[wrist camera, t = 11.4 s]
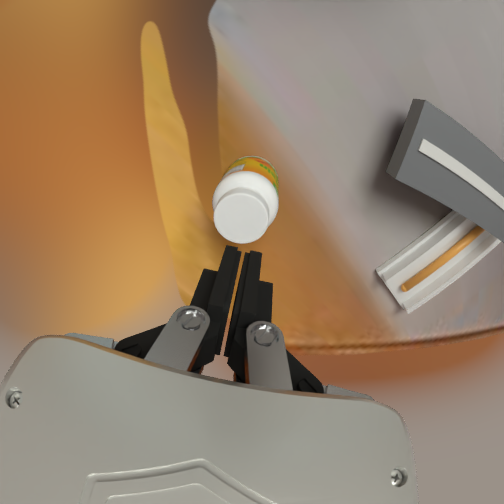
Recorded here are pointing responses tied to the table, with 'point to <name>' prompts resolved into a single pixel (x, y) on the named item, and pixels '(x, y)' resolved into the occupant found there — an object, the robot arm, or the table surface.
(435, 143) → the block
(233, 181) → the supplement bottle
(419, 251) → the duct base
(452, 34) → the table surface
